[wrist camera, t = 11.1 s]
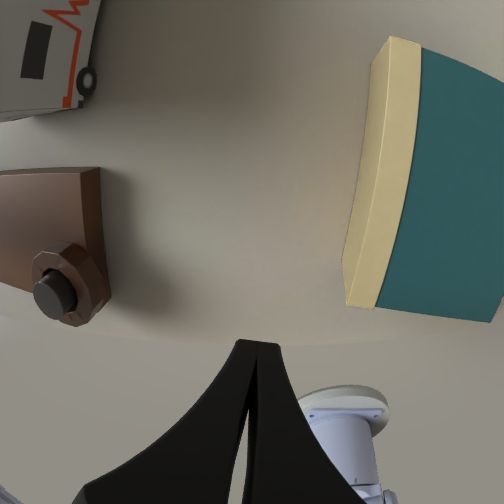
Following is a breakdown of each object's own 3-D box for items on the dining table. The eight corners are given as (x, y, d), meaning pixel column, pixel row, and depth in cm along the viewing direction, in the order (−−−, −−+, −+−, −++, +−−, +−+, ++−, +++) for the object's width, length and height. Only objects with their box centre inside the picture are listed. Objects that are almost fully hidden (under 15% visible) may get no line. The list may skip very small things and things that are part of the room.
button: (80, 309, 17) (67, 324, 15) (52, 301, 17) (38, 314, 15) (72, 273, 16) (57, 286, 14) (44, 266, 16) (28, 278, 14)
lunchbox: (490, 325, 11) (346, 305, 13) (460, 282, 16) (341, 260, 18) (545, 105, 6) (389, 34, 8) (498, 108, 11) (370, 63, 13)
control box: (123, 303, 21) (99, 334, 17) (7, 272, 21) (-17, 291, 18) (112, 166, 17) (75, 178, 13) (-9, 171, 17) (-40, 182, 14)
